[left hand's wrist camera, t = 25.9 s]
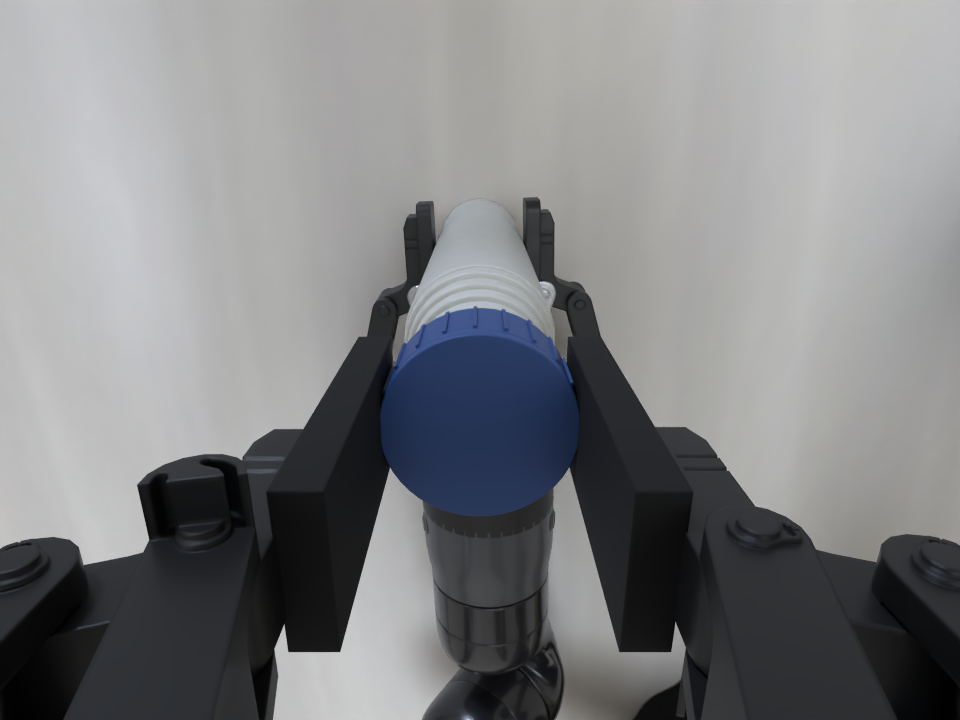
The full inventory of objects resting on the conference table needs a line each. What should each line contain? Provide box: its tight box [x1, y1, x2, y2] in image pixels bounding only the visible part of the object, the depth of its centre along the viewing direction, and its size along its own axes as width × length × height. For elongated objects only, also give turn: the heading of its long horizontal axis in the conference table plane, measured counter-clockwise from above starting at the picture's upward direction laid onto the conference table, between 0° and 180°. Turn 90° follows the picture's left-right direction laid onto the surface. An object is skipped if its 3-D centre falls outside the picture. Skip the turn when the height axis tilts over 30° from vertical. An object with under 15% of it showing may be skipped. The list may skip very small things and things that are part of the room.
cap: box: [380, 306, 580, 516], centre depth 13 cm, size 4×4×2 cm
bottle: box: [404, 199, 555, 346], centre depth 25 cm, size 4×4×25 cm
